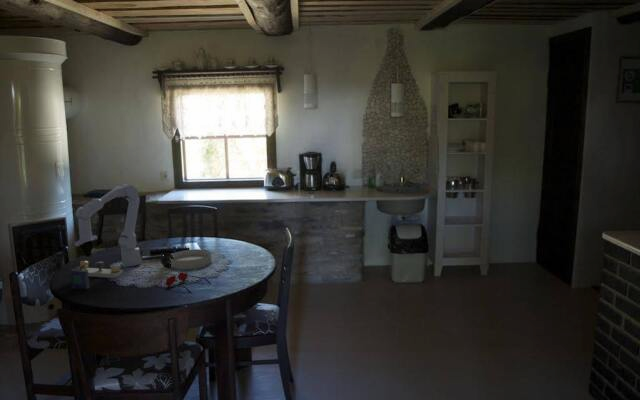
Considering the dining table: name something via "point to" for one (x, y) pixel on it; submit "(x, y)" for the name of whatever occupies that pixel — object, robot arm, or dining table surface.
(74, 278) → the flask
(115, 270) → the brass knob
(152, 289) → the dining table surface
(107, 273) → the mount board
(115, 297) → the dining table surface
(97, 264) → the graphite knob
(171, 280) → the glasses
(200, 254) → the dish
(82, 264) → the brass knob
